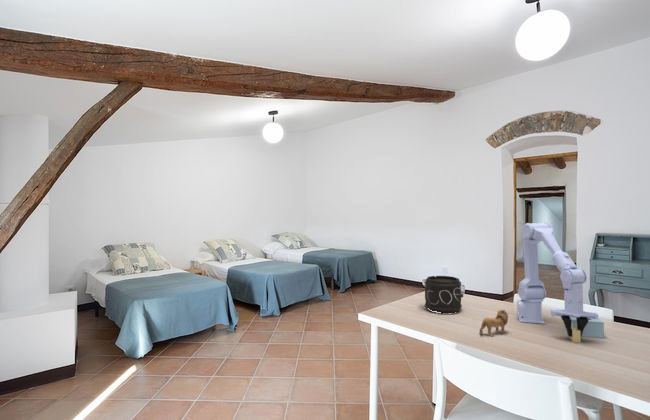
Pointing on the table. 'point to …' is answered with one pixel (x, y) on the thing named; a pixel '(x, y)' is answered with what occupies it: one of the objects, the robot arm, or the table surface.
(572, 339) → the tan rectangular block
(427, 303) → the black lettered canister
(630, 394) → the table surface
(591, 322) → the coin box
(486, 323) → the lion figurine
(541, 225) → the robot arm
